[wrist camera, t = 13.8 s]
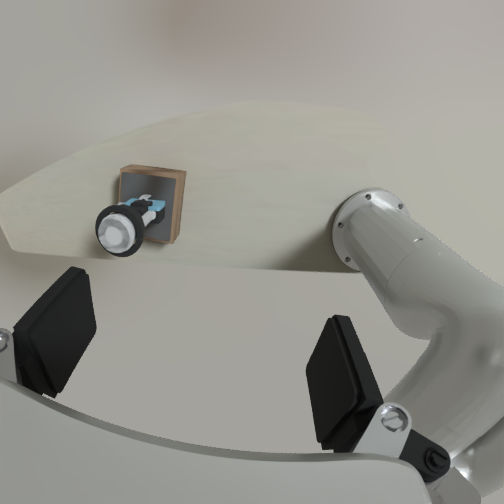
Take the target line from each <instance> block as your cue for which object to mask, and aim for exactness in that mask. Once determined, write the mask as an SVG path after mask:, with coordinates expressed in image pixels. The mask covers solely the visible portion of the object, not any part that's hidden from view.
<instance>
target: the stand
mask: <svg viewBox="0 0 504 504" xmlns="http://www.w3.org/2000/svg"><path fill="white" fill-rule="evenodd" d="M185 178H186V171H181V170H174V169H166V168H158V167H150V166H141V165H132V164H131V165H129V166H126V167H123V168H121V169H120V185H119V202H121V203H125V202H127V201H128V200H130V199H132V198H136V199H139V197H141V196H142V195H151V197H149V198H148V200H159V201H165V218H164V219H163V220H162V221H161V222H160V223H159V224H154V223H148V224H147V225H146V226H145V230H144V236H143V239H148V240H154V241H159V242H165V243H170V244H173V243H174V241H175V240H176V238H177V237H178V235H179V231H180V220H181V211H182V202H183V194H184V186H185Z"/></svg>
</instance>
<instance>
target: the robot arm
mask: <svg viewBox="0 0 504 504" xmlns="http://www.w3.org/2000/svg"><path fill="white" fill-rule="evenodd" d="M366 195H367V197H365V196H366ZM398 205H399V206H398ZM338 223H340V224H339V225H338ZM332 242H333V246H334V249H335V251H336V253H337V255H338V256H339V258H340V259H341V260H342V262H343V263H344V264H346V265H347V266H349V267H350V268H352V269H354V270H357V271H361V272H362V273H363V275H364V276H365V278H366V280H367V281H368V283H369V284H370V286H371V287H372V289H373V291H374V292H375V294H376V296H377V297H378V299H379V300H380V302H381V304H382V305H383V307H384V309H385V310H386V312H387V313H388V315H389V316H390V318H391V319H392V321H393V323H394V324H395V326H396V327H397V328H399V330H400V331H402V332H403V333H405V334H406V335H408V336H411V337H414V338H418V339H426V340H430V343H429V345H428V347H427V349H426V350H425V351H424V353H423V354H422V355H421V356H420V358H419V359H418V360H417V362H416V364H415V365H414V366H413V367H412V368H411V370H410V371H409V372H408V373H407V374H406V375H405V377H403V379H402V380H401V381H400V382H399V383H398V384H397V385H396V386H395V387H394V388H393V389H392V391H390V393H388V395H387V396H386V397H385V398H384V399H383V398H382V396H381V393H380V391H379V388H378V385H377V382H376V380H375V377H374V375H373V372H372V369H371V367H370V365H369V362H368V359H367V357H366V354H365V353H364V351H363V348H362V346H361V344H360V341H359V339H358V336H357V334H356V331H355V329H354V327H353V324H352V322H351V320H350V318H349V317H348V316H342V315H334V316H333V317H332V318H328V320H327V322H326V324H325V326H324V329H323V331H322V333H321V336H320V338H319V340H318V342H317V345H316V347H315V349H314V351H313V354H312V355H311V357H310V359H309V362H308V364H307V367H306V376H307V382H308V387H309V394H310V400H311V406H312V412H313V419H314V425H315V431H316V437H317V441H318V442H319V443H321V445H322V450H329V449H333V450H334V453H316V454H315V453H313V454H296V453H294V454H293V453H265V452H250V451H239V450H230V449H222V448H214V447H208V446H200V445H195V444H189V443H184V442H179V441H174V440H170V439H165V438H161V437H157V436H153V435H149V434H145V433H141V432H137V431H134V430H130V429H127V428H124V427H120V426H117V425H114V424H111V423H108V422H105V421H102V420H99V419H97V418H94V417H91V416H88V415H86V414H83V413H80V412H78V411H76V410H73V409H71V408H69V407H66V406H64V405H62V404H59V403H57V402H55V401H53V400H50V399H48V398H46V397H44V396H42V394H43V393H44V394H46V395H48V396H50V397H52V398H55V397H56V395H57V393H61V392H62V390H63V389H64V386H65V385H66V383H67V381H68V379H69V377H70V376H71V374H72V372H73V370H74V369H75V367H76V365H77V363H78V362H79V360H80V358H81V356H82V355H83V353H84V351H85V350H86V348H87V346H88V345H89V343H90V342H91V340H92V338H93V337H94V335H95V333H96V321H95V315H94V309H93V303H92V296H91V289H90V281H89V276H88V274H86V272H85V270H84V269H81V268H77V267H70V268H69V269H68V270H67V271H66V272H65V273H64V274H63V275H62V276H61V277H60V278H59V279H58V280H57V281H56V282H55V283H54V284H53V285H52V286H51V287H50V288H49V289H48V290H47V291H46V292H45V293H44V294H43V295H42V296H41V297H40V298H39V299H38V300H37V301H36V302H35V303H34V304H33V306H32V307H31V308H30V309H29V310H28V311H27V312H26V313H25V314H24V316H23V317H22V318H21V319H20V320H19V321H18V323H16V325H15V326H14V327H13V328H14V332H13V333H12V334H11V332H10V331H8V330H7V329H3V328H0V504H480V502H481V497H485V496H487V495H489V494H492V493H493V492H495V491H497V490H499V489H500V488H502V487H503V486H504V287H503V286H502V285H500V284H498V283H497V282H495V281H493V280H492V279H491V278H489V277H487V276H486V275H485V274H483V273H482V272H480V271H479V270H478V269H476V268H475V267H474V266H472V265H471V264H470V263H468V262H467V261H466V260H464V259H463V258H462V257H461V256H460V255H458V254H457V253H456V252H455V251H453V250H452V249H451V248H450V247H448V246H447V245H445V244H444V243H443V242H442V241H441V240H439V239H438V238H437V237H435V236H434V235H433V234H431V233H430V232H429V231H428V230H426V229H425V228H423V227H422V226H421V225H419V224H418V223H417V222H415V221H414V220H412V219H411V218H410V215H409V211H408V209H407V207H406V205H405V204H404V202H403V201H402V200H401V199H400V198H399V197H397V196H396V195H395V194H393V193H391V192H389V191H387V190H383V189H375V188H374V189H366V190H364V191H361V192H358V193H357V194H355V195H353V196H352V197H350V198H349V199H348V200H347V201H346V202H345V203H344V204H343V205H342V207H341V208H340V209H339V211H338V213H337V215H336V217H335V220H334V223H333V227H332ZM346 257H347V258H346Z"/></svg>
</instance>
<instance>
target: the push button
mask: <svg viewBox="0 0 504 504" xmlns="http://www.w3.org/2000/svg"><path fill="white" fill-rule="evenodd" d="M149 197H151V195H142V196H141V197H139V199H136V198H132V199H130V200H128V201H127V202H125V203H121V202H119V203H118V204H116V205H112V206H109V207H107V208H105V209H104V210H103V211H102V212H101V213H100V214H99V215H98V217H97V220H96V226H95V229H96V235H97V238H98V240H99V242H100V244H101V245H102V247H103V248H104V249H105V250H106V251H108V252H109V253H111V254H112V255H115V256H118V257H127V256H130V255H132V254H134V253H135V252H136V251H137V250H138V249H139V248H140V246H141V244H142V242H143V236H144V230H145V226H146V225H147V224H148V223H154V224H159V223H160V222H161V221H162V220H163V219H164V218H165V201H159V200H148V198H149ZM111 212H115V213H113V214H110V213H111ZM109 214H110V215H109ZM136 238H137V239H136ZM135 239H136V242H135V244H133V242H134V240H135Z"/></svg>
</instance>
